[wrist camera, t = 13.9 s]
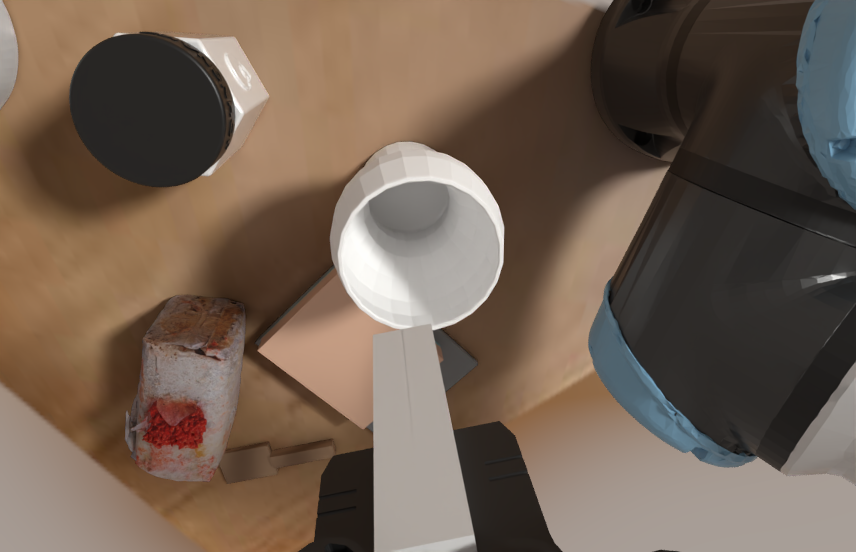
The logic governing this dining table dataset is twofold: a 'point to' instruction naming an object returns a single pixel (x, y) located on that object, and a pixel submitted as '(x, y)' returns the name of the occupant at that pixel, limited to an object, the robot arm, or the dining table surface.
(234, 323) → the food item
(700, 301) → the robot arm
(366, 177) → the cup
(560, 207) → the dining table surface
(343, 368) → the tile
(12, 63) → the utensil holder
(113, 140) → the jar
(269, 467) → the spatula
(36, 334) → the dining table surface
